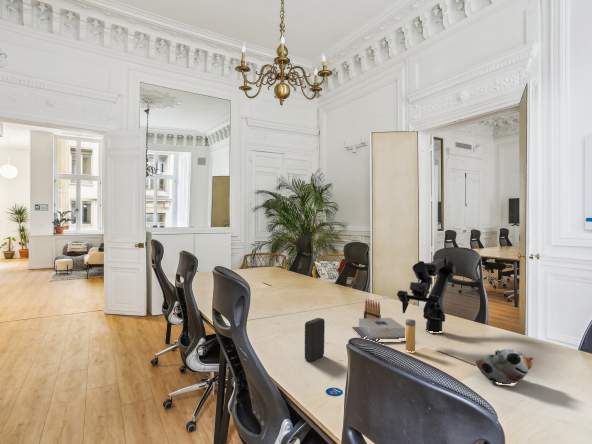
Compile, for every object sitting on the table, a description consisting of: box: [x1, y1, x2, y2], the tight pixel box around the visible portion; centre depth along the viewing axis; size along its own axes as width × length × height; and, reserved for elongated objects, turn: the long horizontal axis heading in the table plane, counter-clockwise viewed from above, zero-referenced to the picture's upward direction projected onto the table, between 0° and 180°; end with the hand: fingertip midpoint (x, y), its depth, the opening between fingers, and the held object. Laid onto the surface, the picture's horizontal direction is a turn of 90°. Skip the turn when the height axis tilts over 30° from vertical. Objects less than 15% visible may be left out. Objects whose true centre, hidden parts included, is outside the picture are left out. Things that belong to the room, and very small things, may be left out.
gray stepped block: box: [351, 317, 406, 344], centre depth 162 cm, size 22×22×6 cm
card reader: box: [304, 317, 326, 362], centre depth 133 cm, size 9×4×15 cm, turn 141°
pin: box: [405, 318, 416, 352], centre depth 141 cm, size 4×4×13 cm
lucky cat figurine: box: [474, 348, 534, 384], centre depth 115 cm, size 15×12×14 cm
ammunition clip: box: [363, 298, 382, 318], centre depth 182 cm, size 11×2×12 cm, turn 35°
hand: (413, 315), depth 148 cm, fingers open, 9 cm apart
